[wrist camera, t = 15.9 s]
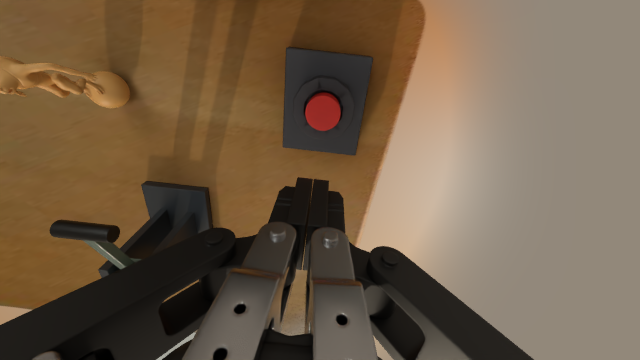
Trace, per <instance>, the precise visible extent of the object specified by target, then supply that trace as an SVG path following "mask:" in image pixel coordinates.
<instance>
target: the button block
mask: <svg viewBox="0 0 640 360" xmlns="http://www.w3.org/2000/svg"><path fill="white" fill-rule="evenodd" d="M372 62H373V58H372V57H370V56H363V55H354V54H346V53H337V52H329V51H320V50H312V49H303V48H295V47H287V48H286V68H285V97H284V125H283V147H285V148H293V149H302V150H311V151H320V152H328V153H337V154H346V155H355V154H356V149H357V144H358V138H359V133H360V127H361V122H362V116H363V111H364V105H365V100H366V95H367V89H368V84H369V78H370V73H371V67H372ZM322 92H325V93H329V94H331V95H333V96H334V97H335V98H336V99H337V100H338V102H339V105H340V112H341V114H340V119H339V121H338V123H337V124H336V126H334V127H333V128H332V129H329V130H326V131H320V130H317V129H315V128H313V127H312V126H311V125H310V124H309V123H308V121H307V119H306V115H305V111H306V107H307V104H308V102H309V100H310V99H311V98H312V97H313V96H314V95H315V94H318V93H322Z"/></svg>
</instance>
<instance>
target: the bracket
mask: <svg viewBox="0 0 640 360" xmlns="http://www.w3.org/2000/svg"><path fill="white" fill-rule="evenodd" d="M141 186H142V190H143V194H144V197H145V201H146V205H147V208H148V212H149V216H150V219H149V220H148V221H147V222H146V223H145V224H144V225H143V226H142V227H141V228H140V229H139V230H138V231H137V232H136V233H135V234H134V235H133V236H132V237H131V238H130V239H129V240H128V241H127V242H126V243H125V244H124V245H123V246H122V247H121V248H120V250H121V251H122V252H124V253H125V254H126V255H127V256H128V257H129V258H134V259H144V258H146V257H148V256H151V255H153V254H155V253H157V252H159V251H161V250H164V249H166V248H168V247H170V246H172V245H174V244H177V243H179V242H181V241H183V240H185V239H187V238H189V237H192V236H194V235H196V234H198V233H200V232H202V231H205V230H207V229H211V228H213V224H212V216H211V208H210V200H209V192H208V188H204V187H195V186H186V185H178V184H169V183H160V182H151V181H146V182H144V183H143V184H142V185H141ZM118 270H120V268H118V267H117V266H116V265H114V264H113V263H112V262H110V261H109V260H108V261H107V262H106V263H105V264H104V265H103V266H102V267H101V268H99V273H100V275H101V277H102V278H103V277H105V276H107V275H110V274H112V273H114V272H116V271H118Z"/></svg>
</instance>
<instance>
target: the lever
mask: <svg viewBox="0 0 640 360" xmlns="http://www.w3.org/2000/svg"><path fill="white" fill-rule="evenodd" d="M50 234H51V235H52V236H53V237H58V238H67V239H76V240H83V241H84V242H86V243H87V244H88V245H90V246H91V247H92V248H94V249H95V250H96V251H97V252H99V253H100V254H101V255H103V256H104V257H105V258H107V259H108V260H109V261H110V262H112V263H113V264H114V265H116V266H117V267H118V268H120V269H123V268H125V267H127V266H129V265H131V264H133V263H135V262H138V261H140V260H142V259H134V258H129V257H128V256H127V255H126V254H125V253H124V252H122V251H121V250H120V249H119V248H118V247H117V246H116V245H115V244H113V242H115V241H116V240H117V239H118V237H119V234H120V229H119V227H118V226H114V225H105V224H96V223H87V222H78V221H69V220H58V221H56V222H54V223H53V224H52V225H51V227H50Z"/></svg>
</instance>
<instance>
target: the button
mask: <svg viewBox="0 0 640 360" xmlns="http://www.w3.org/2000/svg"><path fill="white" fill-rule="evenodd" d="M340 114H341V112H340V105H339V102H338V100H337V99H336V98H335V97H334V96H333V95H331V94H329V93H325V92H322V93H318V94H315V95H314V96H313V97H312V98H311V99H310V100H309V102H308V104H307V107H306V111H305V115H306V119H307V121H308V123H309V124H310V125H311V126H312V127H313V128H315V129H317V130H320V131H326V130H329V129H332V128H333V127H334V126H336V124H337V123H338V121H339V119H340Z"/></svg>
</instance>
